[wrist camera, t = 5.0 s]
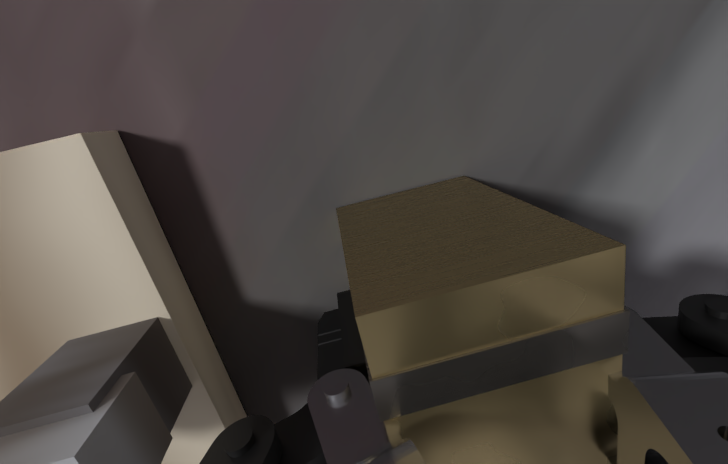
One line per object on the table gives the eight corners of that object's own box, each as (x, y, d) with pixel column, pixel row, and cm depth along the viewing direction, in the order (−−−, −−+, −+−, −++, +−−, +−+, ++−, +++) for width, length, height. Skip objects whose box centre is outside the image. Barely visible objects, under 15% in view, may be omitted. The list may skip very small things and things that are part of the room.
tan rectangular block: (334, 208, 11) (351, 320, 5) (464, 175, 11) (632, 246, 5) (382, 386, 13) (431, 604, 7) (488, 357, 13) (621, 548, 7)
